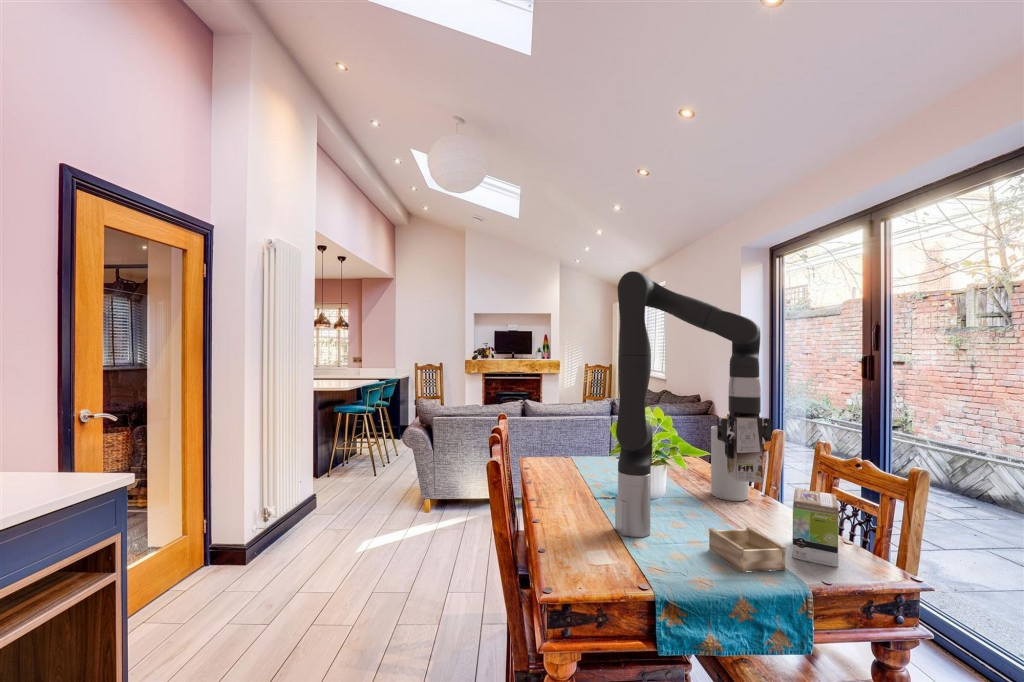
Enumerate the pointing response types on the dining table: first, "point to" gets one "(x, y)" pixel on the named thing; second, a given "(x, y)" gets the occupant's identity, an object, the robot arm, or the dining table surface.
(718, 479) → the cylinder vase
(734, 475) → the coffee box
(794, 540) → the tea box
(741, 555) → the crate
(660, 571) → the dining table surface
